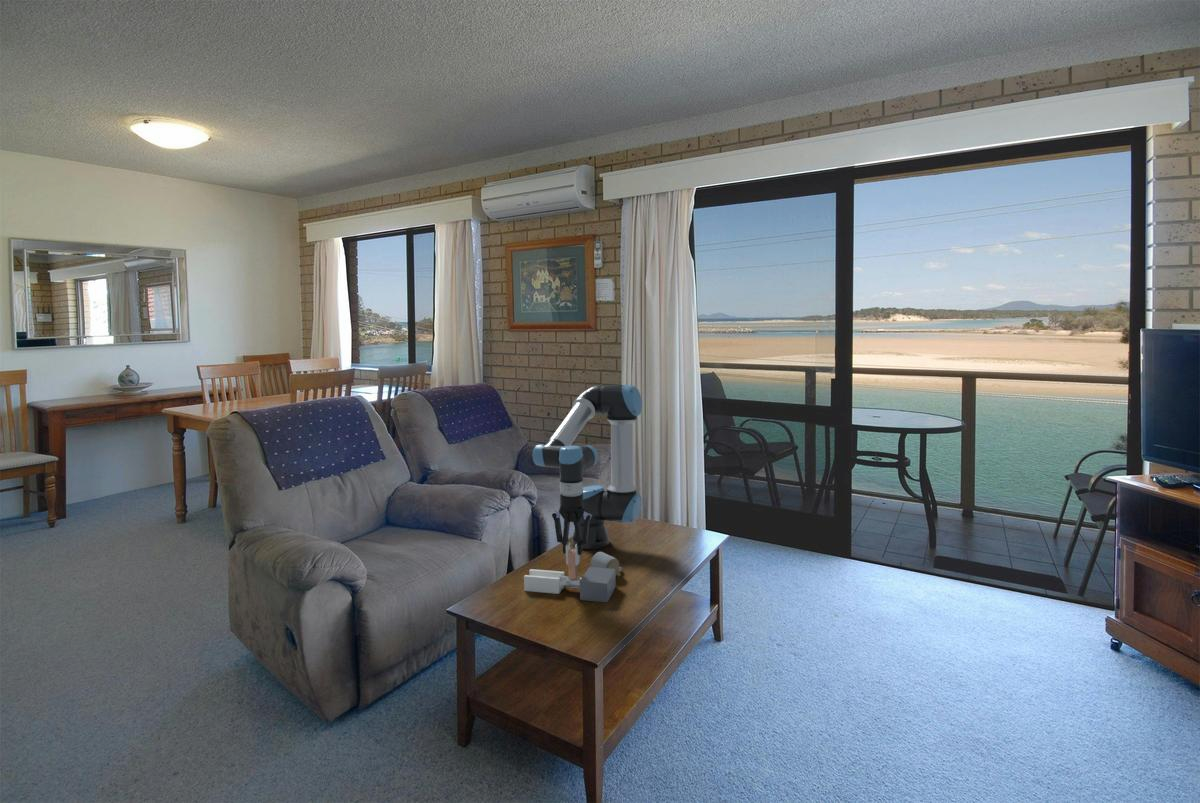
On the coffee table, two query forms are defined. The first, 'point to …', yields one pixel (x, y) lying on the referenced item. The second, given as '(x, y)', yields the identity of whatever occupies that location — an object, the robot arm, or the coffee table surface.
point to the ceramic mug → (605, 562)
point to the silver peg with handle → (571, 573)
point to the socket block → (597, 584)
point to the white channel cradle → (543, 581)
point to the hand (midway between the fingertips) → (572, 563)
